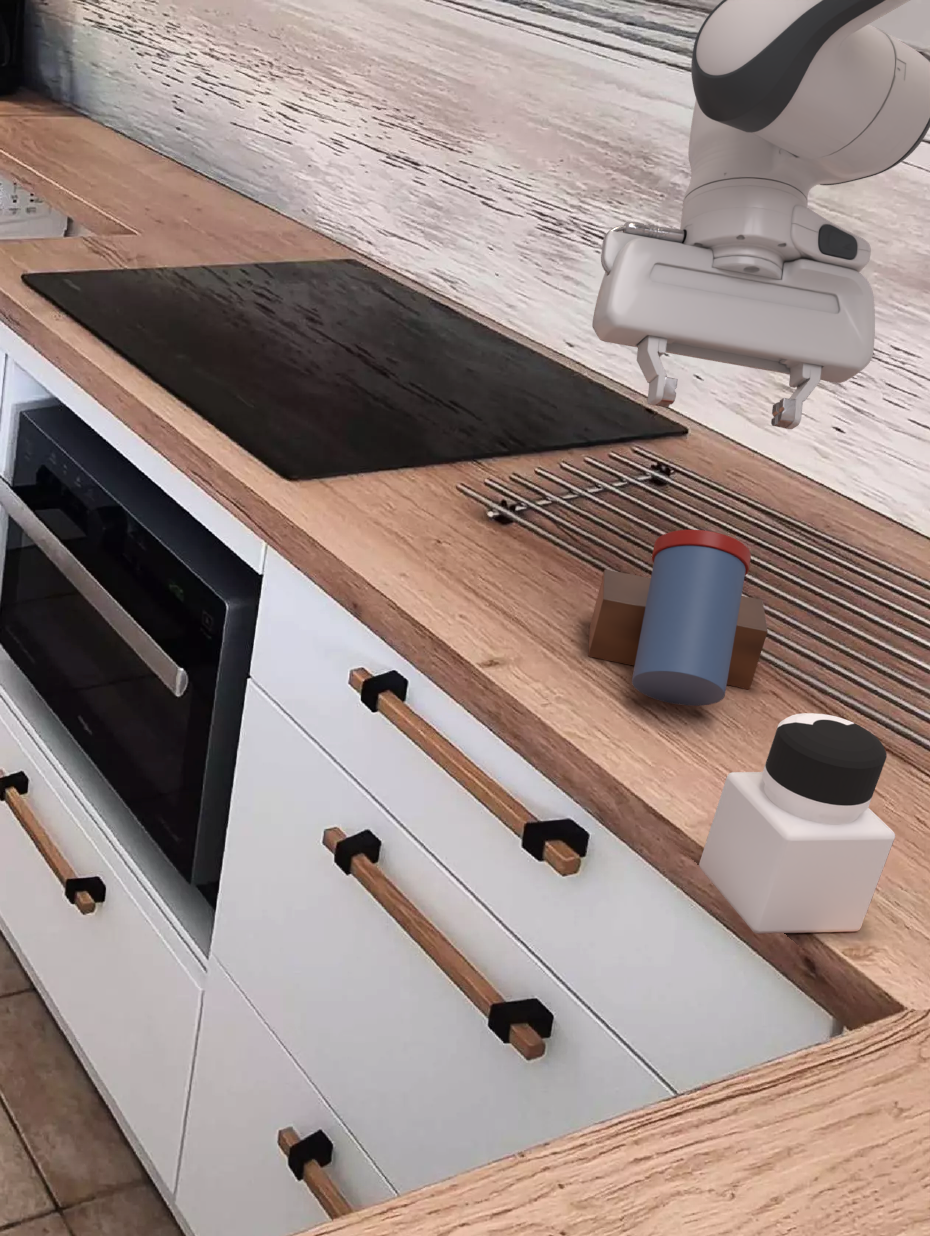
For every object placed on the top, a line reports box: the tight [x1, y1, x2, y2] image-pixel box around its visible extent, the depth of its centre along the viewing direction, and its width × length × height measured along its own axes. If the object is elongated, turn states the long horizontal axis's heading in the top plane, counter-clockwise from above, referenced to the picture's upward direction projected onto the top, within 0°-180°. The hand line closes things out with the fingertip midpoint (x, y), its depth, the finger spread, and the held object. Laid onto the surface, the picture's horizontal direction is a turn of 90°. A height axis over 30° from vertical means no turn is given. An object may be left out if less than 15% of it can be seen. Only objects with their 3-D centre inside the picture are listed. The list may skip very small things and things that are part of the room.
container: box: [631, 529, 752, 707], centre depth 127 cm, size 7×12×12 cm, turn 163°
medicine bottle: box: [698, 712, 896, 935], centre depth 103 cm, size 7×7×12 cm
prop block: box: [587, 569, 769, 690], centre depth 134 cm, size 12×6×5 cm, turn 73°
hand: (723, 415), depth 128 cm, fingers open, 8 cm apart
